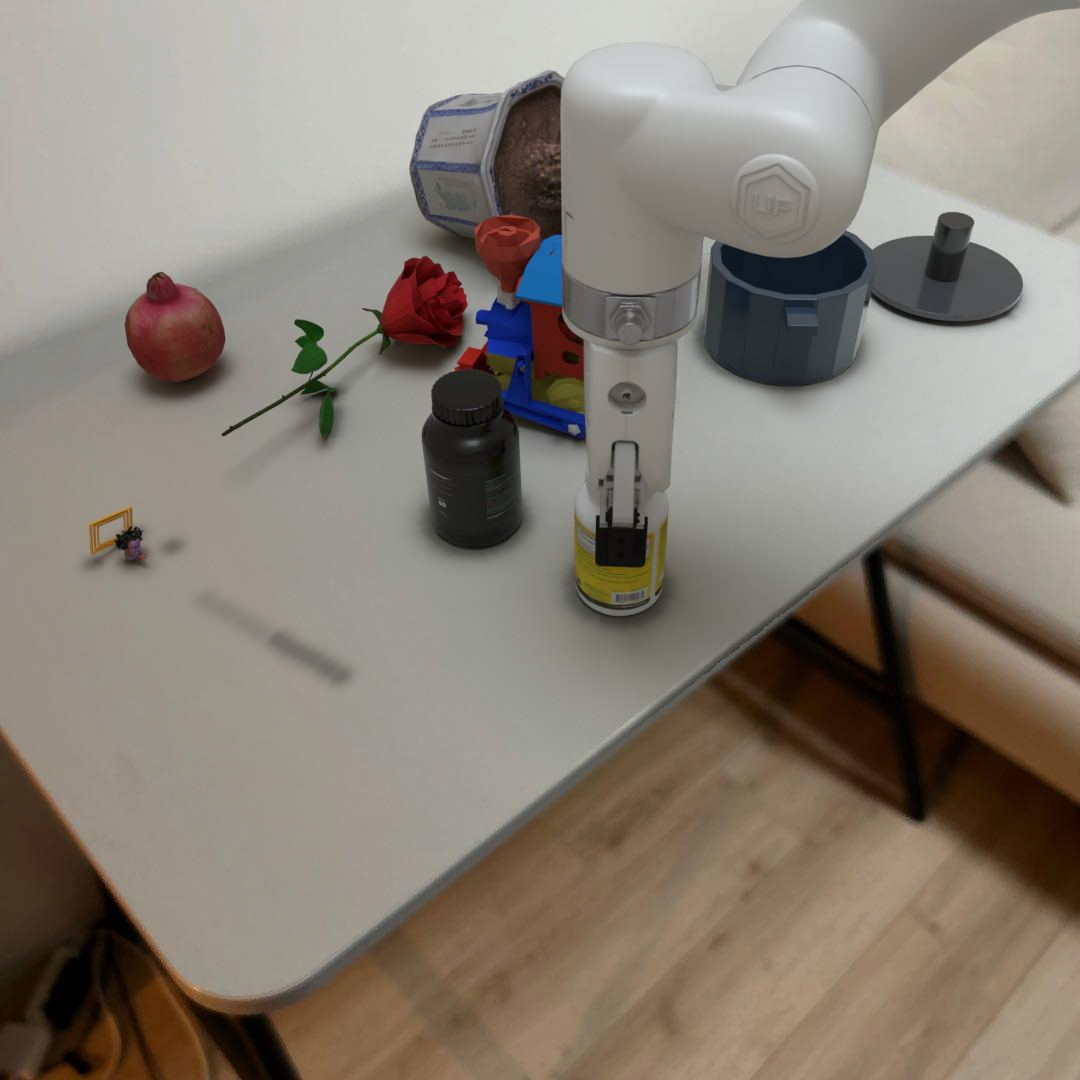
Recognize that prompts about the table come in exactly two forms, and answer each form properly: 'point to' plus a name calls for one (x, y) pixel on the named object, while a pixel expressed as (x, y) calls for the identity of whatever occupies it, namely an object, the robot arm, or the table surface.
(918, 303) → the lid
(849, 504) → the table surface
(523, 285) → the toy train
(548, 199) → the potted plant
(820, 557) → the table surface
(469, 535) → the supplement bottle
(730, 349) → the pot
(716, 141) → the robot arm
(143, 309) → the fruit
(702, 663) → the table surface
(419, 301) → the flower
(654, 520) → the pill bottle
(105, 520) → the golden frame ornament
